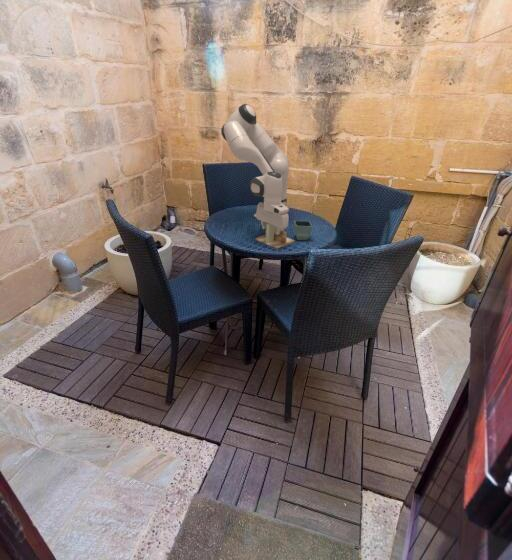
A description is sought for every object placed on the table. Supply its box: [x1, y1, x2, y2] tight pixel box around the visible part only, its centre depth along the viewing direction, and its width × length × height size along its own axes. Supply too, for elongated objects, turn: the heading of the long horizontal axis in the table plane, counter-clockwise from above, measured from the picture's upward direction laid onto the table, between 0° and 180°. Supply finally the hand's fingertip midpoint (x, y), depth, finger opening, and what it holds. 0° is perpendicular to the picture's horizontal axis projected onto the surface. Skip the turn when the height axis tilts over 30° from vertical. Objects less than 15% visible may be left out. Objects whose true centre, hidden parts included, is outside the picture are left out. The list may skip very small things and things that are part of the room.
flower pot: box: [293, 220, 313, 241], centre depth 175 cm, size 9×9×9 cm
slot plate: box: [266, 223, 285, 243], centre depth 170 cm, size 2×12×10 cm, turn 134°
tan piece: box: [255, 224, 295, 250], centre depth 171 cm, size 16×14×7 cm
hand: (270, 231), depth 168 cm, fingers open, 8 cm apart
